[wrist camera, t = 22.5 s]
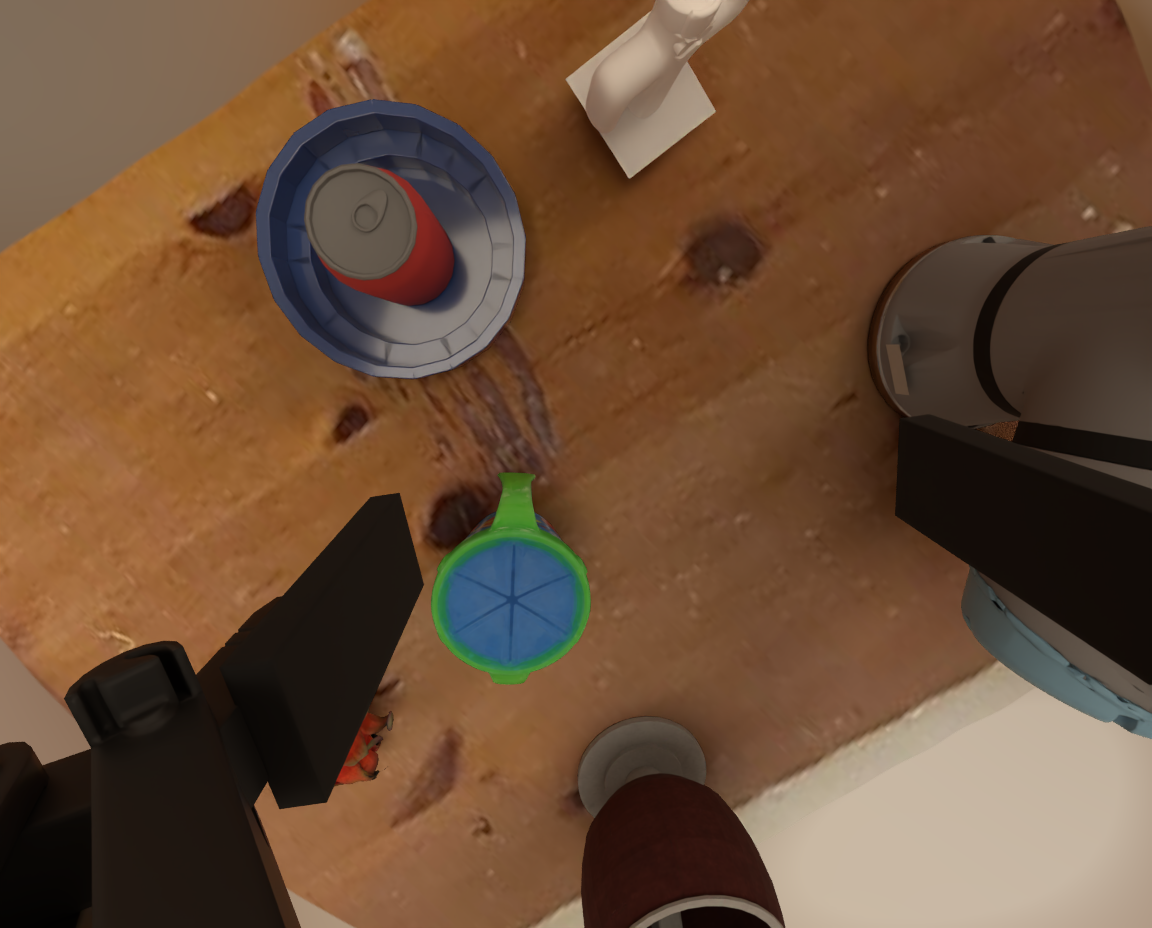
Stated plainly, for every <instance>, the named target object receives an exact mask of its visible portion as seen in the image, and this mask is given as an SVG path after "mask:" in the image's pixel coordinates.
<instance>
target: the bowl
mask: <svg viewBox="0 0 1152 928" xmlns="http://www.w3.org/2000/svg"><path fill="white" fill-rule="evenodd" d="M355 163H360V164H364V165H369V166H373V167H377V168H382V169H386V170H389V171H391V172H393V173H394V174H396V175H398V176H399V177H401V178H403V179H404V180H406V181H408V182H409V184H410V185H411V186H412V187H413V188H414V189H415V190H416V191H417V192H418V193H419V195H420V196H421V197H422V198H423V200H424V201H425V203H426V204H427V205H428V207H429V208H430V210H431V211H432V213H433V214H434V216H435V217H436V219H437V220H438V221H439V223H440V224H441V226H442V227H443V229H444V230H445V232H446V234H447V236H448V238H449V240H450V242H451V244H452V248H453V254H454V260H455V261H454V268H453V274H452V277H451V279H450V281H449V283H448V285H447V287H446V289H445V290H444V291H443V292H442V293H441V294H440V295H439V296H438V297H437V298H435V299H433V300H431V301H429V302H427V303H425V304H421V305H412V306H407V305H402V304H397V303H393V302H390V301H387V300H384V299H381V298H378V297H375V296H372V295H369V294H366V293H363V292H360V291H357V290H355V289H353V288H351V287H349V286H347V285H346V284H344V283H342V282H340V281H339V280H338V279H337V278H336V277H335V276H334V275H333V274H332V273H331V272H330V271H329V270H328V269H327V268H326V267H325V266H324V265H323V264H322V262H321V260H320V258H319V257H318V255H317V253H316V252H315V250H314V248H313V246H312V244H311V242H310V241H309V239H308V236H307V231H306V226H305V222H304V214H305V203H306V199H307V197H308V195H309V193H310V190H311V188H312V186H313V184H314V183H315V182H316V181H317V180H318V179H319V178H320V177H321V176H322V175H323V174H324V173H325V172H327V171H329V170H331V169H333V168H335V167H337V166H339V165H344V164H355ZM256 225H257V245H258V257H259V260H260V263H261V266H262V268H263V271H264V274H265V277H266V279H267V282H268V285H269V287H270V290H271V293H272V296H273V298H274V301H275V302H276V303H277V305H278V306H279V307H280V309H281V310H282V311H283V313H284V314H285V315H286V317H287V318H288V319H289V321H290V322H291V323H292V325H293V326H294V328H295V329H296V330H297V332H298V333H299V334H300V335H301V336H302V337H303V338H304V339H306V340H307V341H308V342H310V343H311V344H312V345H314V346H315V347H316V348H318V349H319V350H320V351H321V352H323V353H324V354H325V355H327V356H328V357H329V358H331V359H332V360H333V361H335V362H337V363H339V364H342V365H345V366H347V367H350V368H352V369H355V370H358V371H360V372H363V373H366V374H368V375H371V376H373V377H374V376H375V377H385V378H401V379H418V378H422V377H426V376H430V375H434V374H438V373H442V372H446V371H450V370H453V369H456V368H459V367H461V366H463V365H465V364H466V363H468V362H469V361H471V360H472V359H474V358H475V357H477V356H479V355H480V354H482V353H483V352H485V351H486V350H488V349H489V348H490V347H491V346H492V345H493V344H494V342H495V341H496V340H497V339H498V337H499V336H500V335H501V334H502V332H503V331H504V330H505V328H506V327H507V326H508V325H509V323H510V322H511V320H512V318H513V316H514V313H515V310H516V307H517V305H518V302H519V299H520V297H521V294H522V291H523V288H524V276H525V255H526V235H525V231H524V227H523V223H522V219H521V215H520V211H519V207H518V203H517V199H516V195H515V193H514V191H513V190H512V188H511V186H510V185H509V183H508V181H507V180H506V178H505V176H504V175H503V173H502V171H501V170H500V168H499V166H498V164H497V163H496V161H495V159H494V158H493V156H491V154H490V153H489V152H488V151H487V150H486V149H485V148H484V147H482V146H481V145H480V144H479V143H478V142H477V141H476V140H475V139H474V138H473V137H472V136H471V135H469V134H468V133H467V132H466V131H465V130H464V129H463V128H462V127H461V126H460V125H458V124H457V123H455V122H453V121H451V120H448V119H446V118H444V117H442V116H440V115H438V114H436V113H434V112H432V111H429V110H427V109H425V108H423V107H421V106H419V105H416V104H409V103H400V102H392V101H383V100H375V99H372V100H367V101H362V102H358V103H354V104H350V105H345V106H341V107H337V108H333V109H330V110H327V111H326V112H324V113H323V114H321V115H320V116H318V117H317V118H315V119H314V120H312V121H311V122H309V123H308V124H306V125H305V126H303V127H302V128H300V129H299V130H297V131H296V132H294V133H293V135H292V136H291V138H290V139H289V140H288V142H287V143H286V145H285V146H284V147H283V149H282V150H281V152H280V153H279V154H278V156H277V157H276V159H275V160H274V162H273V163H272V164H271V166H270V167H269V170H267V174H266V177H265V181H264V184H263V188H262V192H261V195H260V199H259V202H258V206H257V210H256Z"/></svg>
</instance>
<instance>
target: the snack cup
mask: <svg viewBox="0 0 1152 928" xmlns="http://www.w3.org/2000/svg"><path fill="white" fill-rule="evenodd" d="M498 477H499V478H500V480H501V483H502V487H503V490H502V494H501V498H500V502H499V506H498V509H497V512H494V513H492V514H490V515H488V516H487V517H486V518H484V519H483V520H482V521H480V523H479V524H478V525H477V526H476V527H475V528H474V529H473V530H472V531H471V533H470V534H469V535H468V537H467V538H466V539H465V540H464V541H462V542H461V543H460V544H459V545H457V546H456V547H455V548H454V549H453V550H452V551H451V552H450V553H448V554H447V555H446V556H445V557H444V558H443V559H442V561H441V562H440V564H439V566H438V568H437V571H438V574H437V576H436V579H435V583H434V586H433V590H432V597H431V611H432V617H433V621H434V624H435V627H436V630H437V633H438V636H439V638H440V640H441V641H442V642H443V643H444V644H445V645H446V646H447V648H448V649H449V650H450V651H451V652H452V653H453V654H454V655H455V656H457V657H458V658H459V659H460V660H462V661H463V662H465V663H466V664H468V665H470V666H472V667H474V668H476V669H479V670H481V671H485V672H488V673H489V674H490V676H491V678H492V680H493V682H495V683H497V684H521V683H524V682H525V680H526V679H527V677H528V675H529V674H530V672H533V671H537V670H540V669H542V668H544V667H547V666H549V665H550V664H552V663H554V662H556V661H557V660H558V659H561V658H562V657H563V656H564V655H565V654H566V653H567V652H568V651H569V650H570V649H571V648H572V647H573V646H574V644H576V643H577V642H578V640H579V639H580V637H581V635H582V633H583V631H584V628H585V626H586V623H587V620H588V618H589V613H590V607H591V598H590V588H589V583H588V579H587V575H586V573H587V569H586V567H585V565H584V563H583V561H582V559H581V558H580V557H579V556H577V555H576V554H575V553H574V552H573V550H572V549H571V548H570V547H569V546H568V545H566V544H565V543H564V542H563V541H562V540H561V538H560V537H559V535H558V534H557V532H556V531H555V529H554V528H553V527H552V525H551V524H550V523H549V522H548V521H547V520H546V519H544V518H543V517H542V516H540V515H538V514H536V513H534V509H533V503H532V492H531V481H532V480H534V479H535V475H534V474H527V473H499V474H498Z"/></svg>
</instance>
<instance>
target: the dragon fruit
mask: <svg viewBox="0 0 1152 928" xmlns="http://www.w3.org/2000/svg"><path fill="white" fill-rule="evenodd" d="M368 711H369V709H368ZM368 711H367V713H366V715H365V718H364V720H363V722H362V724H361V727H360V729H359V731H358V733H357V736H356V738H355V740H354V742H353V745H352V747H351V749H350V751H349V754H348V756H347V758H346V760H345V763H344V765H343V767H342V769H341V772H340V774H339V776H338V778H337V780H336V783H335V785H334V786H338V785H343V784H353V783H355V782H358V781H369V780H374V779H375V778H377V777H376V776H377V775H378V773H379V772H380V771H379V770H377V771H375V770H376V767H377V765H378V760H379V758H378V754H377V753H375V752H376V751H377V750H378V748H379V746H380V744H381V741H382V740H383V737H381V736H378V735H376V734H375V733H377V732H379V731H381V730H382V729H383V728H384V727H385V726H386V725H387V729H388V730H389V731H390V730H392V725H393V720H394V719H393V713H392V712H391V711H390V712H389V715H388V716H385V717H380V716H377V715H373V714H370V713H368ZM370 735H371V736H372V738H373V739H372V738H371V736H370ZM385 769H386V768H385ZM385 769H384V770H385ZM379 776H380V775H379Z"/></svg>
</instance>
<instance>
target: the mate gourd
mask: <svg viewBox="0 0 1152 928" xmlns="http://www.w3.org/2000/svg"><path fill="white" fill-rule="evenodd" d="M705 778H706V762H705V758H704V754H703V752H702V749H701V747H700V746H699V744H698V742H697V740H696V739H695V737H694V736H693V735H692V734H691V733H690V732H689V731H688V730H687V729H685V728H684V727H683V726H681V725H680V724H678V723H676V722H673V721H671V720H668V719H664V718H660V717H648V716H644V717H636V718H631V719H627V720H624V721H621V722H619V723H617V724H615V725H613V726H611V727H609V728H607V729H606V730H604V731H603V732H602V733H600V734H599V735H598V736H597V737H596V738H595V739H594V740H593V741H592V742H591V743H590V744H589V746H588V748H587V749H586V751H585V752H584V754H583V756H582V759H581V761H580V764H579V769H578V788H579V793H580V796H581V800H582V802H583V804H584V806H585V807H586V809H587V811H588V812H589V813H590V814H591V815H592V816H593V817H594V820H593V821H592V823H591V826H590V828H589V831H588V833H587V836H586V843H585V849H584V856H583V863H582V883H581V895H582V907H583V917H584V926H585V928H785V924H784V920H783V915H782V912H781V908H780V905H779V902H778V899H777V895H776V892H775V889H774V886H773V883H772V880H771V878H770V876H769V874H768V872H767V870H766V867H765V865H764V863H763V861H762V859H761V857H760V854H759V852H758V850H757V848H756V846H755V844H754V842H753V841H752V839H751V837H750V835H749V834H748V832H747V831H746V829H745V828H744V826H743V825H742V823H741V822H740V820H739V819H738V817H737V816H736V815H735V813H734V812H733V811H732V810H731V808H730V807H729V806H728V805H727V804H726V803H725V801H724V800H723V799H722V798H721V797H720V796H719V795H718V794H717V793H716V792H714V791H713V790H712V789H710V788H709V787H707V786H705V785H704V783H705Z"/></svg>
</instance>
